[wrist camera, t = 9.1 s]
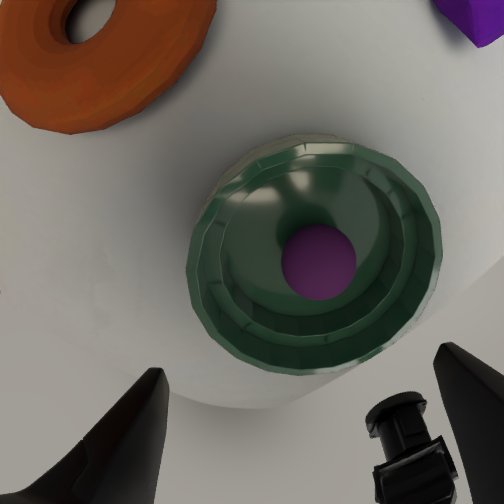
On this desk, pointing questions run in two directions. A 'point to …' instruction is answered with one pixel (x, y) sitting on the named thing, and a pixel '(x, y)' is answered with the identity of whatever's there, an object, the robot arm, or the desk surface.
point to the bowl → (284, 226)
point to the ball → (318, 262)
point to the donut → (95, 60)
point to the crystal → (475, 18)
